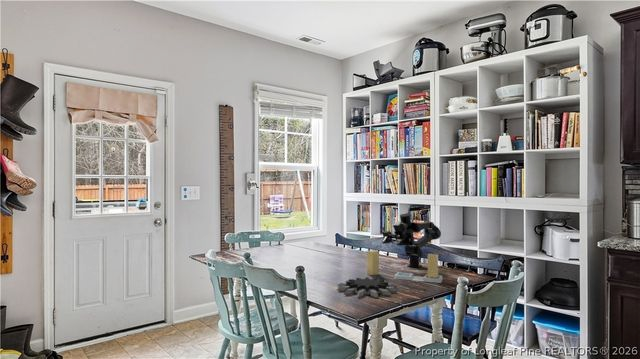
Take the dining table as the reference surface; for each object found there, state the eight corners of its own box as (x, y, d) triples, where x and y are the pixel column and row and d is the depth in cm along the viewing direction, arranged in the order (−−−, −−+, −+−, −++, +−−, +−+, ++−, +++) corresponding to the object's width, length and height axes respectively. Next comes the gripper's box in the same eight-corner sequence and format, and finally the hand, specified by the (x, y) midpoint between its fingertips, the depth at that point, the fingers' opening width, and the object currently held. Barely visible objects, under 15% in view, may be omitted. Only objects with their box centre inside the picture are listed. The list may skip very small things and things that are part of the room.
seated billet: (429, 278, 199) (428, 253, 199) (438, 279, 197) (437, 254, 197) (427, 280, 195) (427, 255, 195) (437, 281, 193) (436, 255, 193)
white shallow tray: (397, 276, 207) (397, 271, 207) (442, 280, 198) (442, 275, 198) (393, 280, 199) (393, 275, 199) (440, 284, 190) (440, 279, 190)
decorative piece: (366, 271, 202) (413, 282, 179) (366, 279, 202) (413, 291, 179) (321, 281, 183) (368, 295, 160) (321, 289, 183) (368, 304, 160)
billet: (373, 272, 215) (373, 250, 215) (378, 274, 211) (378, 251, 211) (367, 274, 213) (366, 250, 213) (372, 275, 209) (372, 252, 209)
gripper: (388, 219, 229) (373, 228, 218) (417, 221, 216) (402, 231, 205) (391, 236, 231) (376, 247, 220) (420, 239, 218) (405, 250, 207)
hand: (390, 243), depth 213 cm, fingers open, 9 cm apart
